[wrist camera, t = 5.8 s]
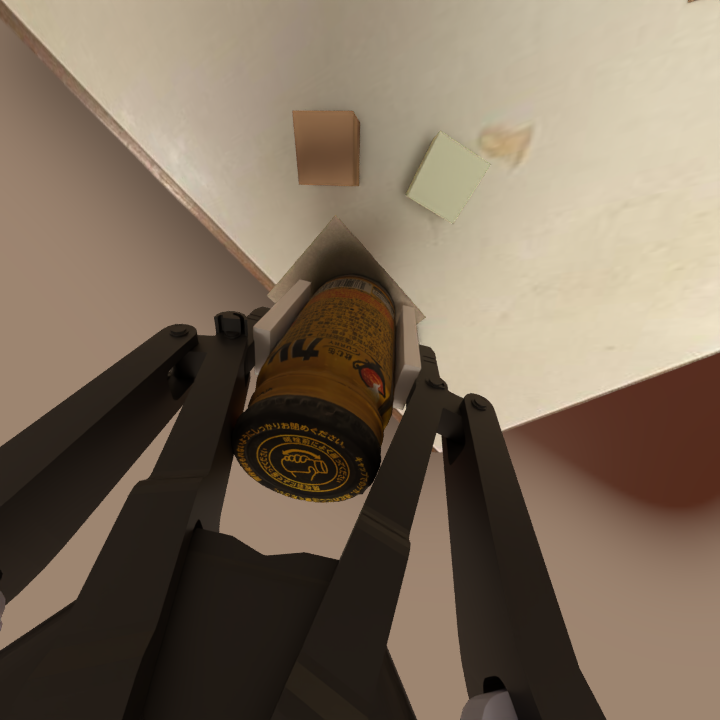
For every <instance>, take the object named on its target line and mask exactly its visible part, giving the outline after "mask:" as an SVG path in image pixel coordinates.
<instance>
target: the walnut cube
mask: <svg viewBox="0 0 720 720" xmlns="http://www.w3.org/2000/svg"><path fill="white" fill-rule="evenodd" d="M292 112H293V123H294V134H295V145H296V156H297V167H298V178H299V184H301V185H335V186H359V154H360V122H359V120H358V119H357V117H356V115H355V114H354V112H353V111H292Z"/></svg>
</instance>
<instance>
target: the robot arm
mask: <svg viewBox="0 0 720 720" xmlns="http://www.w3.org/2000/svg"><path fill="white" fill-rule="evenodd" d="M310 290H311V282H308V281H304V280H299V281H298V282H297V283H296V284H295V285H294V286H293V287H292V288H291V289H290V290H289V291H288V292H287V293H286V294H285V295H284V296H283V297H282V298H281V299H280V300H279V301H278V302H277V303H276V304H275V305H274V306H273V307H272V308H271V309H270V308H266V307H260V308H257V309H255V310H254V311H252V312H251V313H250V315H248V316H247V317H246V316H245V315H244V314H242V313H240V312H235V311H227V312H222V313H219V314H217V315H216V316H215V317H214V320H215V326H216V335H215V336H205V335H197V330H196V329H195V328H194V327H193V326H190V325H185V324H175V325H171V326H168V327H166V328H164V329H162V330H161V331H160V332H158V333H157V334H155V335H154V336H153V337H151V338H150V339H148V340H147V341H146V342H144V343H143V344H142V345H140V346H139V347H137V348H136V349H135V350H133V351H132V352H131V353H129V354H128V355H126V356H125V357H124V358H122V359H121V360H120V361H118V362H117V363H115V364H114V365H113V366H111V367H110V368H108V369H107V370H106V371H104V372H103V373H102V374H100V375H99V376H97V377H96V378H95V379H93V380H92V381H91V382H89V383H88V384H86V385H85V386H84V387H82V388H81V389H80V390H78V391H77V392H75V393H74V394H73V395H71V396H70V397H69V398H67V399H66V400H65V401H63V402H62V403H60V404H59V405H57V406H56V407H55V408H53V409H52V410H51V411H49V412H48V413H46V414H45V415H44V416H42V417H41V418H40V419H38V420H37V421H35V422H34V423H33V424H32V425H30V426H29V427H27V428H26V429H24V430H23V431H22V432H20V433H19V434H18V435H16V436H15V437H13V438H12V439H11V440H9V441H8V442H6V443H5V444H4V445H2V446H1V447H0V630H1V627H2V622H1V617H2V614H3V612H4V609H5V605H6V604H8V602H10V601H11V600H12V599H13V598H14V597H15V596H17V595H18V594H19V593H20V592H21V591H22V590H23V589H24V588H25V587H26V586H27V585H28V584H29V583H30V582H31V581H32V580H33V579H34V578H35V577H36V576H37V575H38V574H39V573H40V572H41V571H42V570H43V569H44V568H45V567H46V566H47V565H48V564H49V563H50V561H51V560H52V559H53V558H54V557H55V556H56V555H57V554H58V553H59V552H60V550H61V549H62V548H63V547H64V546H65V545H66V544H67V542H68V541H69V540H70V539H71V538H72V536H73V535H74V534H75V533H76V532H77V530H78V529H79V528H80V527H81V526H82V524H83V523H84V522H85V521H86V520H87V519H88V517H89V516H90V515H91V514H92V512H93V511H94V510H95V509H96V508H97V507H98V506H99V504H100V503H101V502H102V501H103V499H104V498H105V497H106V496H107V495H108V494H109V492H110V491H111V490H112V489H113V488H114V486H115V485H116V484H117V483H118V482H119V480H120V479H121V478H122V477H123V476H124V475H125V473H126V472H127V471H128V470H129V469H130V467H131V466H132V465H133V464H134V463H135V461H136V460H137V459H138V458H139V457H140V456H141V454H142V453H143V452H144V451H145V450H146V448H147V447H148V446H149V445H150V444H151V442H152V441H153V440H154V439H155V438H156V436H157V435H158V434H159V433H160V432H161V430H162V429H163V428H164V427H165V426H166V424H167V423H168V422H169V421H170V420H171V419H172V417H173V416H174V415H175V414H176V412H177V411H178V410H179V409H180V408H181V407H182V405H183V407H182V409H181V411H180V413H179V416H178V418H177V420H176V422H175V424H174V426H173V428H172V430H171V433H170V435H169V437H168V439H167V441H166V443H165V446H164V448H163V450H162V452H161V454H160V457H159V459H158V461H157V463H156V465H155V467H154V469H153V472H152V473H151V475H150V477H149V478H148V479H146V480H142V481H139V482H138V483H137V484H136V485H135V486H134V487H133V489H132V491H131V492H130V494H129V496H128V498H127V500H126V502H125V504H124V506H123V508H122V510H121V512H120V514H119V516H118V518H117V520H116V522H115V524H114V526H113V528H112V530H111V532H110V534H109V536H108V538H107V540H106V542H105V544H104V546H103V548H102V550H101V552H100V554H99V556H98V558H97V560H96V562H95V564H94V566H93V568H92V570H91V572H90V574H89V576H88V578H87V580H86V582H85V584H84V586H83V588H82V590H81V592H80V594H79V596H78V598H77V599H76V600H75V601H73V602H72V603H70V604H69V605H67V606H66V607H64V608H63V609H62V610H60V611H59V612H57V613H56V614H54V615H53V616H51V617H50V618H48V619H47V620H45V621H44V622H42V623H41V624H39V625H38V626H36V627H35V628H33V629H32V630H30V631H29V632H27V633H26V634H24V635H23V636H21V637H20V638H18V639H17V640H15V641H14V642H12V643H11V644H9V645H8V646H6V647H5V648H3V649H2V650H0V720H417V719H416V716H415V714H414V711H413V709H412V706H411V704H410V701H409V699H408V697H407V694H406V692H405V689H404V687H403V684H402V682H401V680H400V677H399V675H398V672H397V670H396V667H395V665H394V663H393V660H392V658H391V655H390V653H389V650H388V648H387V641H388V637H389V633H390V629H391V625H392V621H393V617H394V613H395V609H396V605H397V601H398V597H399V593H400V589H401V585H402V581H403V577H404V573H405V569H406V565H407V561H408V556H409V552H410V541H409V534H410V530H411V526H412V523H413V519H414V515H415V511H416V507H417V503H418V500H419V496H420V492H421V489H422V485H423V481H424V477H425V473H426V470H427V466H428V462H429V458H430V454H431V451H432V447H433V443H434V439H435V436H436V433H438V434H440V435H442V449H443V461H444V472H445V484H446V496H447V507H448V520H449V532H450V543H451V555H452V567H453V579H454V592H455V603H456V615H457V627H458V637H459V645H460V654H461V661H462V667H463V672H464V677H465V682H466V687H467V692H468V696H469V700H468V702H467V703H466V705H465V706H464V708H463V711H462V715H461V719H460V720H606V718H605V716H604V714H603V712H602V710H601V708H600V706H599V704H598V703H597V701H596V699H595V697H594V695H593V693H592V691H591V689H590V687H589V685H588V684H587V682H586V680H585V678H584V676H583V674H582V672H581V670H580V669H579V665H578V662H577V659H576V656H575V654H574V650H573V647H572V645H571V641H570V638H569V635H568V632H567V629H566V626H565V623H564V620H563V617H562V614H561V611H560V608H559V605H558V602H557V599H556V596H555V593H554V589H553V587H552V584H551V580H550V577H549V575H548V571H547V568H546V565H545V562H544V559H543V556H542V553H541V550H540V547H539V544H538V541H537V538H536V535H535V532H534V529H533V526H532V523H531V520H530V516H529V514H528V510H527V507H526V505H525V502H524V498H523V496H522V492H521V489H520V486H519V483H518V480H517V477H516V474H515V471H514V468H513V465H512V462H511V459H510V456H509V453H508V450H507V447H506V444H505V440H504V438H503V434H502V431H501V428H500V425H499V422H498V419H497V416H496V413H495V410H494V407H493V406H492V404H491V403H490V402H489V401H488V400H487V399H486V398H484V397H482V396H480V395H477V394H473V393H470V394H467V395H466V396H465V397H464V398H461V397H459V396H457V395H455V394H453V393H451V392H450V391H448V386H447V384H446V382H445V381H444V380H442V379H441V378H440V376H439V371H438V366H437V361H436V356H435V353H434V351H433V350H432V349H431V348H430V347H427V346H423V345H419V344H418V336H417V327H416V318H415V310H414V308H413V307H409V306H405V305H403V306H402V309H401V312H400V315H399V318H398V322H397V325H396V332H395V335H396V339H395V371H394V388H395V391H394V402H393V408H397V409H401V410H403V408H404V406H405V404H406V410H405V413H404V415H403V417H402V419H401V422H400V424H399V426H398V429H397V431H396V433H395V435H394V438H393V440H392V442H391V444H390V447H389V449H388V451H387V453H386V456H385V458H384V460H383V463H382V465H381V467H380V469H379V471H378V474H377V476H376V478H375V480H374V483H373V485H372V487H371V490H370V492H369V494H368V496H367V499H366V501H365V503H364V506H363V508H362V510H361V512H360V514H359V517H358V519H357V521H356V523H355V526H354V528H353V530H352V533H351V535H350V537H349V539H348V542H347V544H346V546H345V548H344V551H343V553H342V555H341V557H340V560H336V559H332V558H327V557H323V556H319V555H314V554H310V553H305V552H303V553H292V554H281V555H269V556H267V555H262V554H261V553H259V552H257V551H255V550H254V549H253V548H251V547H249V546H248V545H246V544H244V543H243V542H241V541H240V540H238V539H236V538H235V537H233V536H230V535H226V534H222V533H219V525H220V516H221V511H222V506H223V502H224V497H225V493H226V488H227V484H228V479H229V474H230V470H231V465H232V461H233V456H234V452H233V446H232V438H231V437H232V434H233V429H234V427H235V424H236V422H237V419H238V418H239V416H240V415H241V414H242V413H243V410H244V406H245V401H246V396H247V392H248V387H249V382H250V371H251V370H252V368H253V367H254V366H255V374H256V375H258V374H259V371H260V369H261V368H262V366H263V364H264V363H265V361H266V359H267V357H268V356H269V355H270V354H271V353H272V352H273V350H274V349H275V347H276V345H277V344H278V342H279V341H280V340H281V339H282V338H283V336H284V335H285V334H286V332H287V331H288V330H289V328H290V326H291V325H292V323H293V322H294V321H295V320H296V318H297V317H298V315H299V313H300V311H301V310H303V309H304V307H305V305H306V304H307V303H308V302H309V300H310Z"/></svg>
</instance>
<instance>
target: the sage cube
mask: <svg viewBox="0 0 720 720" xmlns="http://www.w3.org/2000/svg"><path fill="white" fill-rule="evenodd" d="M490 165H491V164H489V163H488V162H486V161H485V160H483V159H482V158H480V157H479V156H477V155H476V154H474V153H473V152H471V151H470V150H468V149H467V148H465V147H464V146H462V145H461V144H459V143H458V142H456V141H455V140H453V139H452V138H450V137H449V136H447V135H446V134H444V133H443V132H441V131H440V132H439V133H438V134H437V135H436V136H435V138H434V139H433V141H432V143H431V145H430V147H429V149H428V151H427V153H426V155H425V157H424V159H423V161H422V163H421V165H420V167H419V169H418V171H417V173H416V175H415V177H414V179H413V181H412V183H411V185H410V187H409V189H408V191H407V193H406V196H407V197H409V198H410V199H412V200H414V201H415V202H417V203H419V204H420V205H422V206H424V207H425V208H427V209H429V210H430V211H432V212H434V213H435V214H437V215H438V216H440V217H442V218H443V219H445V220H447V221H448V222H450V223H452V224H453V223H454V222H455V220H456V219H457V217H458V216H459V214H460V212H461V211H462V209H463V208H464V206H465V204H466V203H467V201H468V200H469V198H470V197H471V195H472V193H473V192H474V190H475V189H476V187H477V185H478V184H479V182H480V181H481V179H482V177H483V176H484V174H485V173H486V171H487V170H488V168H489V166H490Z"/></svg>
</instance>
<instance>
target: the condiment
mask: <svg viewBox="0 0 720 720" xmlns="http://www.w3.org/2000/svg"><path fill="white" fill-rule="evenodd" d="M299 280H304V281H308V282H311V290H310V300H309V302H308V303H307V304H306V305H305V307H304V309H303V310H301V311H300V313H299V315H298V317H297V318H296V320H295V321H294V322H293V323H292V325H291V326H290V328H289V330H288V331H287V332H286V334H285V335H284V336H283V338H282V339H281V340H280V341H279V342H278V344H277V345H276V347H275V349H274V350H273V352H272V353H271V354H270V355H269V356H268V357H267V359H266V361H265V363H264V364H263V366H262V368H261V369H260V371H259V374H258V377H257V382H256V390H255V392H254V393H253V395H252V397H251V399H250V402H249V405H248V409H247V410H246V411H245V412H243V413H242V414H241V415H240V416H239V418H238V419H237V422H236V424H235V427H234V429H233V434H232V437H231V438H232V446H233V452H234V455H235V457H236V458H237V461H238V462H239V464H240V466H241V467H242V468H243V469H244V470H245V471H246V473H247V474H248V475H250V477H252V478H253V479H254V480H256V481H257V482H259V483H260V484H261V485H263V486H265V487H267V488H269V489H271V490H273V491H275V492H277V493H280V494H282V495H285V496H288V497H291V498H294V499H299V500H306V501H310V502H311V501H313V502H322V503H324V502H339V501H344V500H346V499H349V498H353V497H355V496H356V495H358V494H363V493H364V491H365V490H366V489H367V488H368V487H369V486H370V485H371V484H372V483H373V481H374V479H375V477H376V475H377V472H378V470H379V468H380V463H381V455H380V454H381V445H382V442H383V437H384V433H383V432H384V429H385V427H386V426H387V424H388V422H389V420H390V417H391V415H392V410H393V402H394V391H395V388H394V371H395V339H396V335H395V332H396V325H397V322H398V318H399V315H400V312H401V309H402V306H403V305H405V306H409V307H413V308H414V310H415V318H416V324H418V323H419V322H421V321H422V320H423V319H424V318H426V317H425V316H424V315H423V313H422V312H421V311H420V310H419V309H418V308H417V306H416V305H415V304H414V303H413V302H412V301H411V299H410V298H409V297H408V296H407V295H406V294H405V293H404V292H403V290H402V289H401V288H400V287H399V286H398V284H397V283H396V282H395V281H394V280H393V279H392V278H391V277H390V275H389V274H388V273H387V272H386V271H385V270H384V269H383V268H382V267H381V266H380V265H379V264H378V262H377V261H376V260H375V259H374V258H373V256H372V255H371V254H370V253H369V252H368V251H367V250H366V248H365V247H364V246H363V245H362V244H361V242H360V241H359V240H358V239H357V238H356V237H355V236H354V235H353V234H352V233H351V232H350V231H349V230H348V228H347V227H346V226H345V225H344V224H343V223H342V221H341V220H340V219H339V218H338V217H337V216H336V215H335V216H334V217H333V219H332V220H331V221H330V222H329V223H328V225H327V226H326V227H325V228H324V229H323V231H322V232H321V233H320V234H319V235H318V236H317V238H316V239H315V240H314V241H313V242H312V244H311V245H310V246H309V247H308V248H307V249H306V251H305V252H304V253H303V254H302V255H301V257H300V258H299V259H298V260H297V261H296V262H295V264H294V265H293V266H292V267H291V268H290V269H289V271H288V272H287V273H286V274H285V275H284V276H283V278H282V279H281V280H280V281H279V282H278V284H277V285H276V286H275V287H274V288H273V289H272V290H271V292H270V293H269V294H268V295H267V296H268V297H269V298H270V299H271V300H272V301H273V302H274V303H275V304H276V303H277V302H278V301H279V300H280V299H281V298H282V297H283V296H284V295H285V294H286V293H287V292H288V291H289V290H290V289H291V288H292V287H293V286H294V285H295V284H296V283H297V282H298V281H299Z"/></svg>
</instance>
